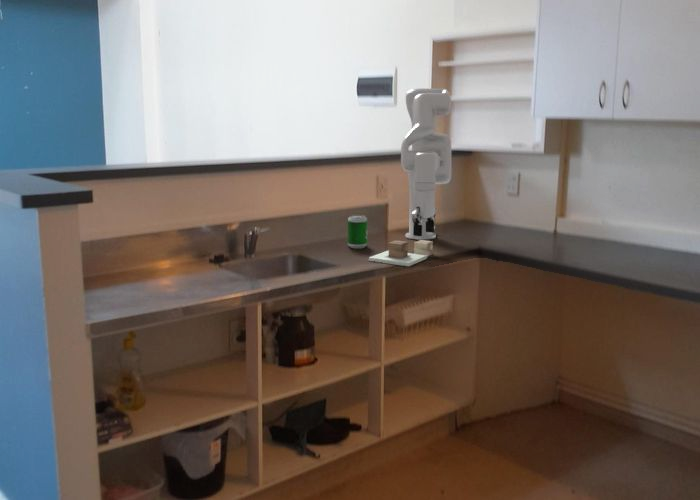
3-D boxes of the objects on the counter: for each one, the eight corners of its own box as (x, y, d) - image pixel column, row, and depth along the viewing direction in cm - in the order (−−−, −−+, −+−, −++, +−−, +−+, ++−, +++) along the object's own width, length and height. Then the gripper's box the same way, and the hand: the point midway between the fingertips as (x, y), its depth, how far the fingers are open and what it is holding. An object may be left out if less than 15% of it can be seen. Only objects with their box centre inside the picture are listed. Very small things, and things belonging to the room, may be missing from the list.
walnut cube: (395, 253, 257) (395, 240, 256) (407, 255, 255) (407, 241, 254) (388, 256, 253) (388, 242, 252) (400, 258, 251) (401, 244, 250)
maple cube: (420, 253, 265) (420, 239, 264) (432, 254, 263) (432, 241, 262) (414, 255, 261) (414, 242, 260) (426, 257, 259) (426, 243, 258)
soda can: (365, 249, 272) (365, 218, 269) (346, 248, 273) (345, 217, 271) (368, 245, 279) (368, 215, 276) (349, 244, 280) (349, 214, 278)
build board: (388, 253, 264) (388, 249, 264) (426, 258, 256) (427, 255, 255) (368, 260, 253) (368, 257, 252) (408, 266, 244) (408, 262, 244)
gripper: (426, 184, 266) (425, 229, 269) (404, 188, 251) (403, 236, 254) (444, 185, 262) (443, 231, 265) (423, 189, 247) (422, 238, 250)
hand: (423, 233), depth 260 cm, fingers open, 9 cm apart
